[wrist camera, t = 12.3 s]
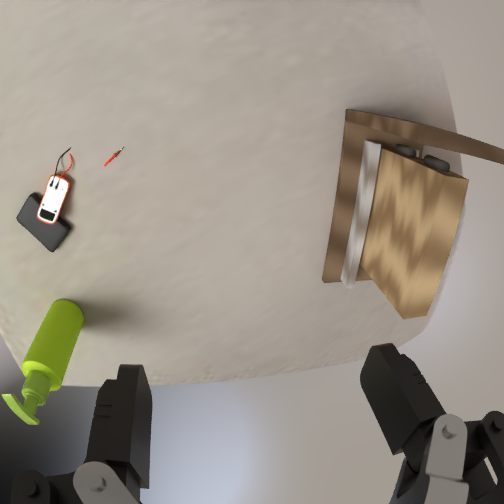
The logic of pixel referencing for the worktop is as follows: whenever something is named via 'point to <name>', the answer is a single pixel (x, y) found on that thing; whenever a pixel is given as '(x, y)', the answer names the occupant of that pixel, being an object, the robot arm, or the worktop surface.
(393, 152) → the oak door
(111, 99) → the worktop surface
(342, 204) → the hinge base
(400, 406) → the robot arm
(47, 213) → the multimeter
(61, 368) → the soap dispenser
